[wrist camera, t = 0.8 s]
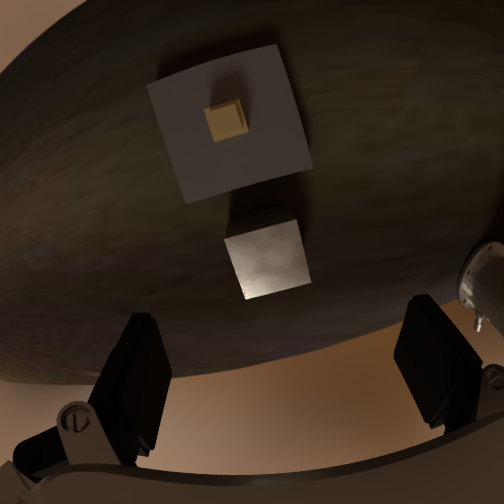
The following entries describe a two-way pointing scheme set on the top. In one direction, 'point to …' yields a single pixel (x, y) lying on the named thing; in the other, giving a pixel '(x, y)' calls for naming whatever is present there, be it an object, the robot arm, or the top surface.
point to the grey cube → (267, 251)
